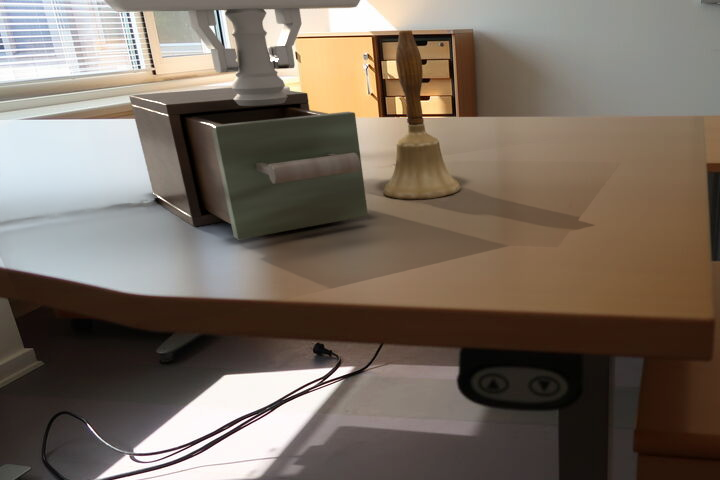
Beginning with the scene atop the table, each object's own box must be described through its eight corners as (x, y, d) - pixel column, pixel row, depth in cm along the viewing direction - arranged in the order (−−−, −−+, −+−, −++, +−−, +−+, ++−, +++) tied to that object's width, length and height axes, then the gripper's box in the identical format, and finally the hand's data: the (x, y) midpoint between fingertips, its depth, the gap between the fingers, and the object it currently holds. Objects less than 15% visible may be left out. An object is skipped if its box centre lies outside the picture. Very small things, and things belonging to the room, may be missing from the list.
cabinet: (324, 204, 76) (307, 93, 71) (193, 227, 68) (165, 104, 64) (272, 184, 86) (255, 85, 82) (155, 201, 79) (128, 95, 75)
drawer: (393, 225, 63) (381, 116, 59) (258, 252, 57) (235, 132, 53) (309, 193, 76) (294, 102, 73) (192, 212, 70) (169, 113, 66)
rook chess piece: (223, 105, 63) (202, 1, 60) (266, 100, 66) (249, 1, 63) (256, 107, 61) (236, -1, 57) (299, 101, 64) (283, -1, 61)
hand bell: (445, 200, 76) (431, 30, 69) (370, 198, 78) (350, 32, 71) (470, 183, 83) (460, 28, 76) (402, 182, 85) (386, 30, 78)
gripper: (331, -108, 65) (353, 62, 70) (65, -128, 53) (117, 76, 59) (363, -119, 60) (383, 64, 66) (80, -143, 49) (134, 80, 55)
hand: (255, 70), depth 62 cm, fingers closed on rook chess piece, 3 cm apart
